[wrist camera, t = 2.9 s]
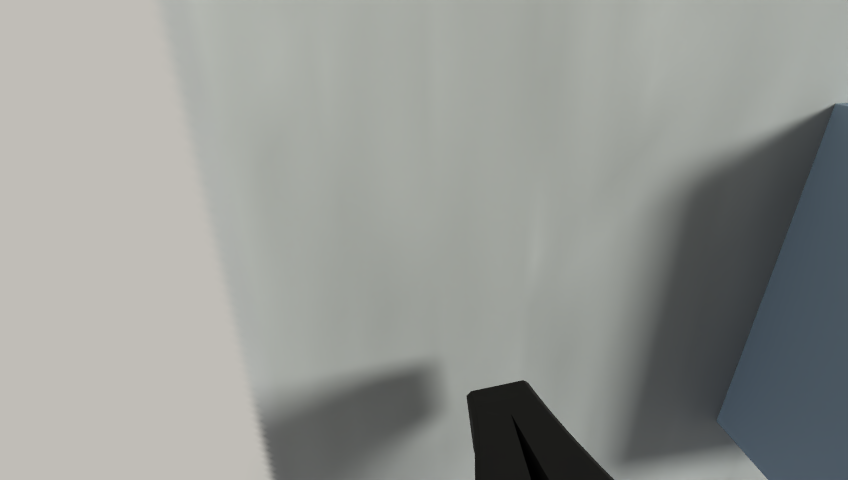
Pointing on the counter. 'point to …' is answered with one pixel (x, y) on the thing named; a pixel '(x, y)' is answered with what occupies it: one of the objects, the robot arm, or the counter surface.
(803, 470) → the block
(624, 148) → the counter surface
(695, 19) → the counter surface
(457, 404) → the counter surface
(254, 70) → the counter surface
